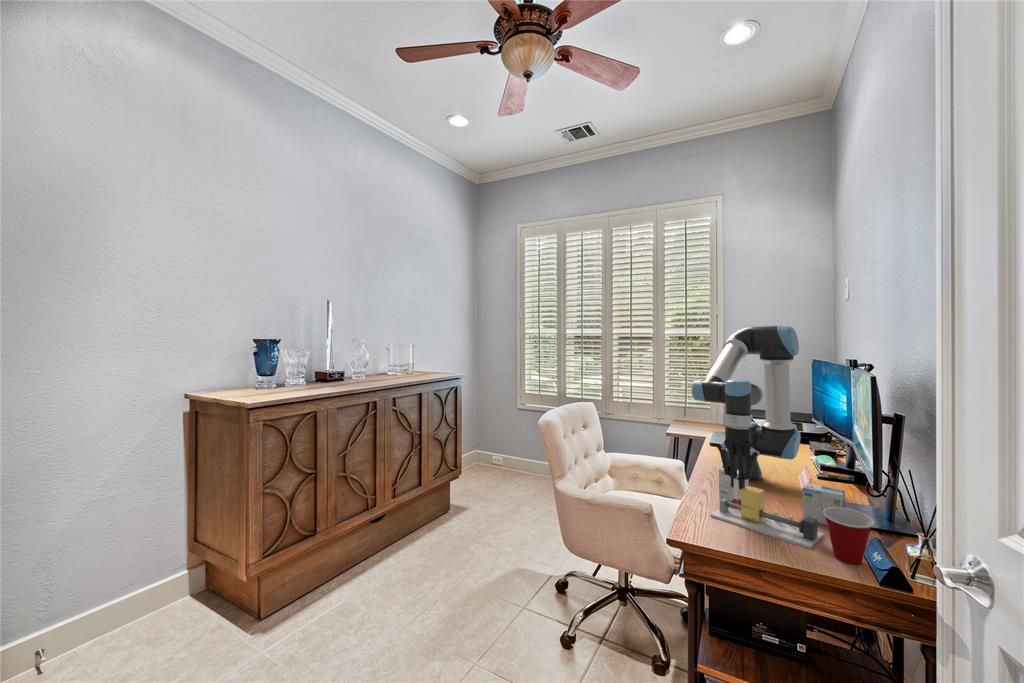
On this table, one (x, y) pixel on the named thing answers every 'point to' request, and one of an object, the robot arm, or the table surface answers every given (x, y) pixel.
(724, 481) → the ink box
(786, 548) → the table surface
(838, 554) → the plastic cup
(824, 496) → the light bulb box
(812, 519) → the rod slider on plate
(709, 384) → the robot arm
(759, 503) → the sleeve
